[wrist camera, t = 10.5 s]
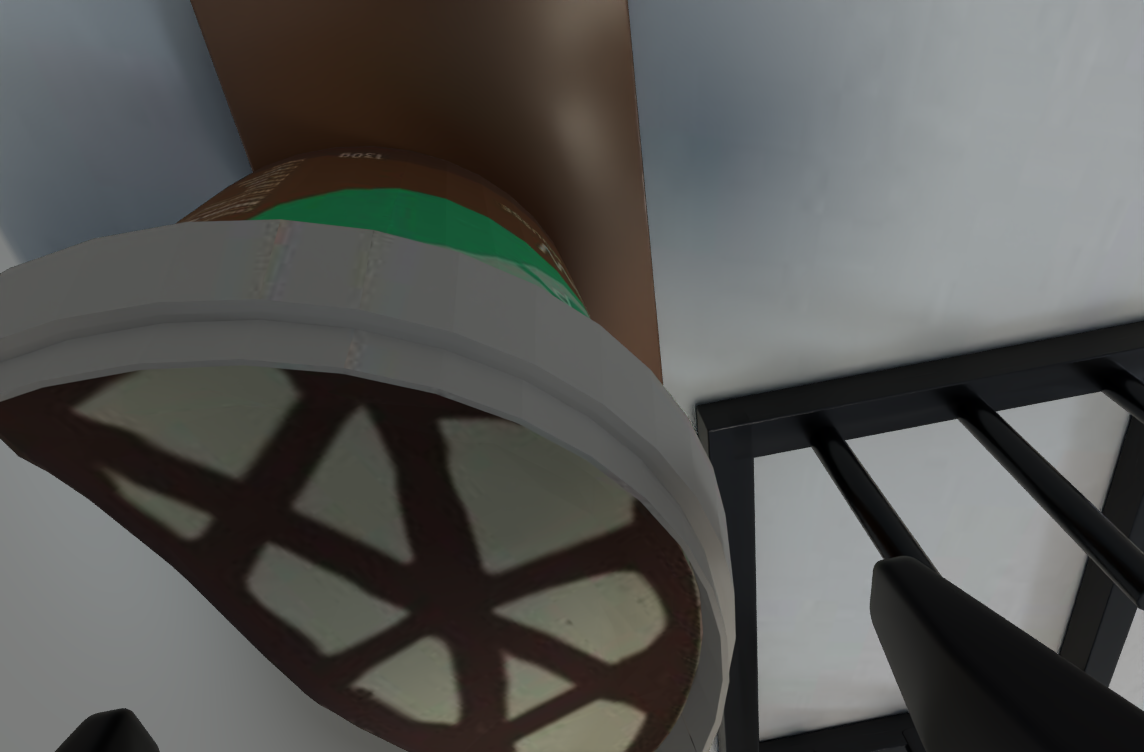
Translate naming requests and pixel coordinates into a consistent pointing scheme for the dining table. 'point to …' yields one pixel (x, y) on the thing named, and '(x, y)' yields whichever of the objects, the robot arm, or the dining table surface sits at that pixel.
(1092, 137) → the dining table surface
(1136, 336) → the drying rack
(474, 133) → the walnut board
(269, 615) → the food container
